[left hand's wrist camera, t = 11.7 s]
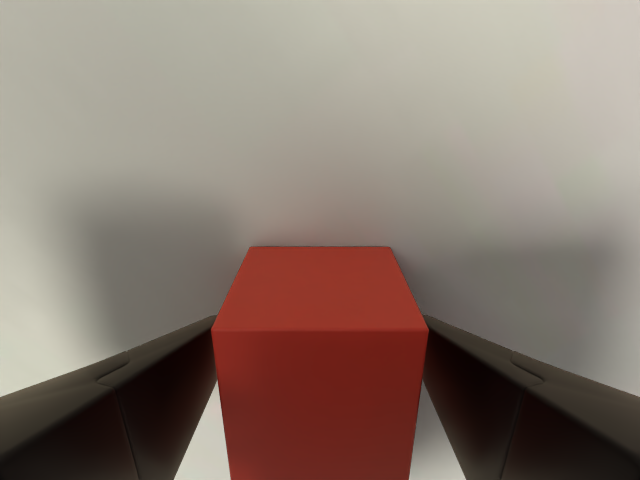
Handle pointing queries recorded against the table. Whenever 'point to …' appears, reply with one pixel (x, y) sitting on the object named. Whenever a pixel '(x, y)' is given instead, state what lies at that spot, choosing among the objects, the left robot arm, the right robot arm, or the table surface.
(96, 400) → the left robot arm
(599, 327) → the table surface
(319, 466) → the brick
